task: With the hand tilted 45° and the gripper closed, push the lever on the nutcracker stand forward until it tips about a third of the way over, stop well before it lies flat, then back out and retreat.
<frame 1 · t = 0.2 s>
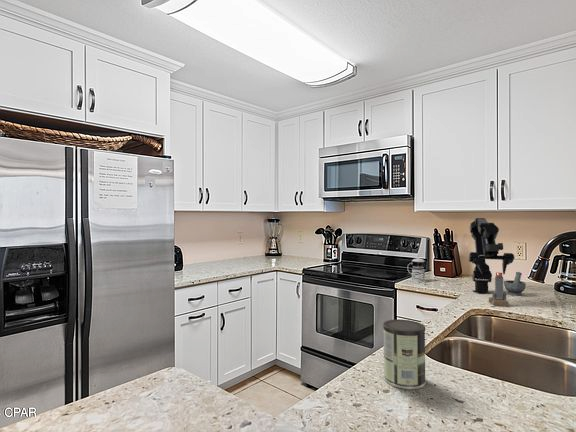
hand: (493, 273, 166), 15 cm above the counter, tool tilted 35°, fingers open, 9 cm apart
nutcracker stand: (499, 305, 166), on the counter
coffee can: (404, 380, 89), on the counter
mortar and pestle: (515, 295, 188), on the counter
french press: (416, 282, 228), on the counter
nutcracker lever: (499, 285, 166), point 9 cm above the counter, hinge at -0.1°
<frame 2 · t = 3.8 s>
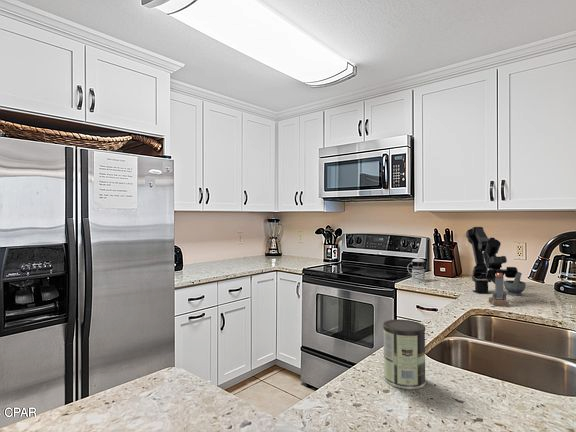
hand: (498, 286, 167), 9 cm above the counter, tool tilted 45°, fingers closed, pressing on nutcracker lever
nutcracker lever: (499, 285, 166), point 9 cm above the counter, hinge at 2.6°, touching gripper
everything else where it was.
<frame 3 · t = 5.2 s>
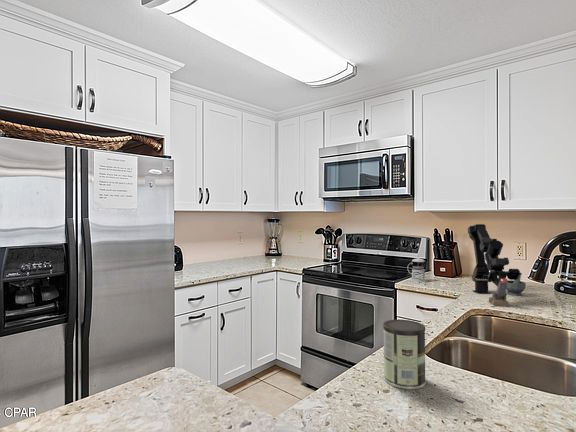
hand: (500, 288, 164), 8 cm above the counter, tool tilted 45°, fingers closed
nutcracker lever: (501, 288, 163), point 8 cm above the counter, hinge at 34.1°
everything else where it was.
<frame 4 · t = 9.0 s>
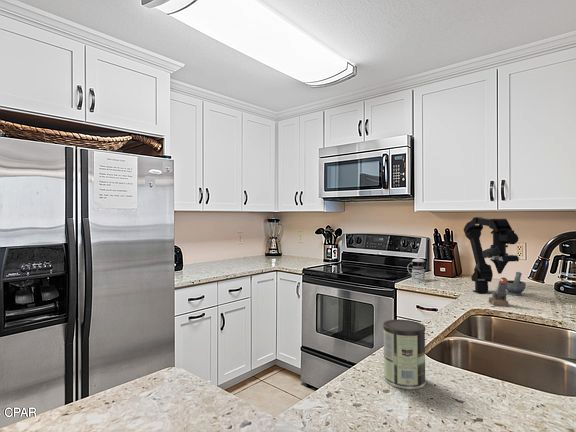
hand: (499, 273, 178), 13 cm above the counter, tool pointing down, fingers closed
nothing on the counter moved.
at the end: nutcracker lever at +34° (first picture: +0°); mortar and pestle moved 0.2 cm from its start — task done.
